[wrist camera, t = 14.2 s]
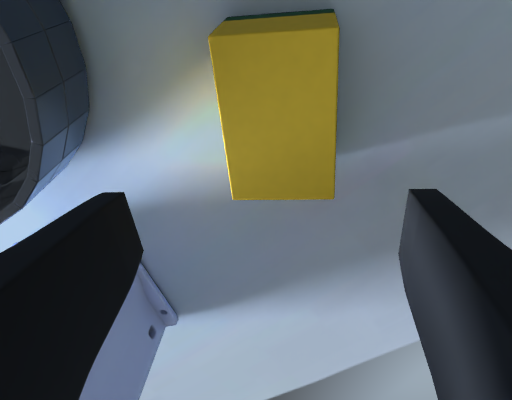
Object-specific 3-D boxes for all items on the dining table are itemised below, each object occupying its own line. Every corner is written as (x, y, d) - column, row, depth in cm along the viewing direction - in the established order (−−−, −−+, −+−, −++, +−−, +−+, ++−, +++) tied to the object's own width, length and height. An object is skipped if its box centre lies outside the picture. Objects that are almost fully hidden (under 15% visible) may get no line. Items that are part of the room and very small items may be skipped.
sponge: (226, 16, 16) (207, 35, 13) (334, 8, 15) (339, 26, 12) (243, 160, 20) (232, 200, 17) (330, 158, 19) (334, 199, 16)
